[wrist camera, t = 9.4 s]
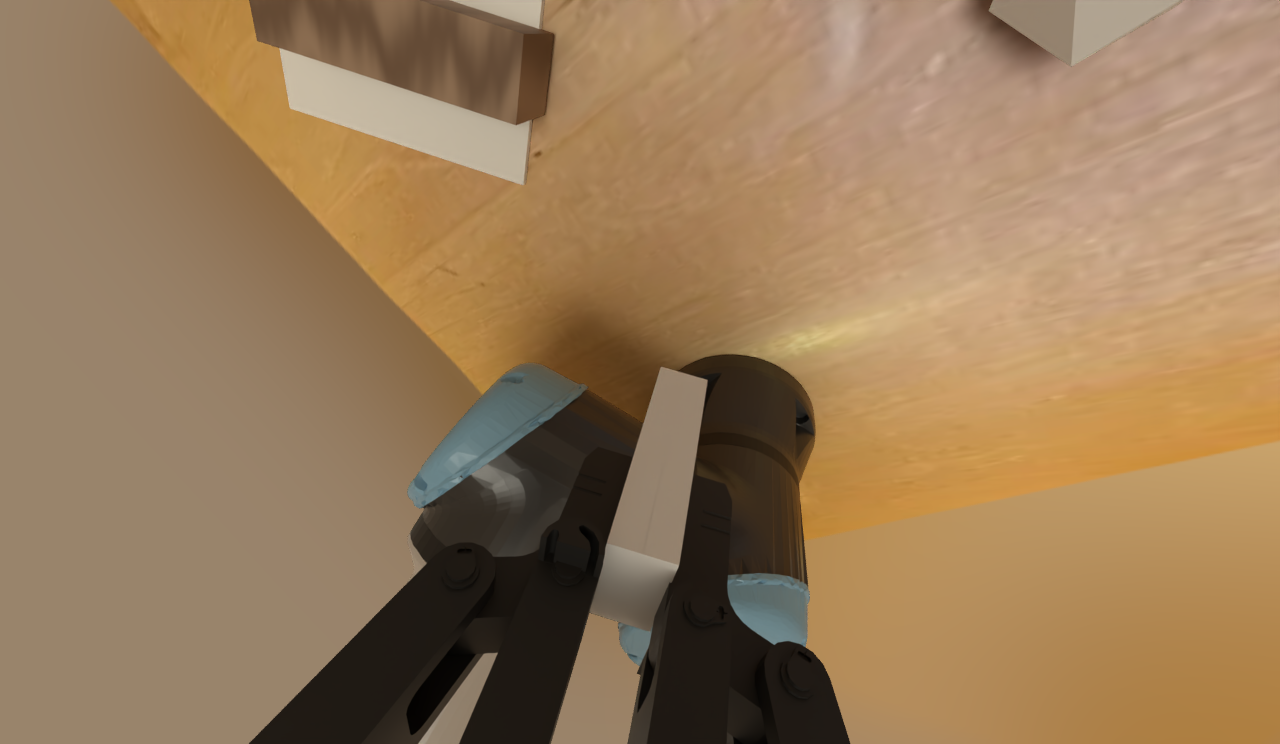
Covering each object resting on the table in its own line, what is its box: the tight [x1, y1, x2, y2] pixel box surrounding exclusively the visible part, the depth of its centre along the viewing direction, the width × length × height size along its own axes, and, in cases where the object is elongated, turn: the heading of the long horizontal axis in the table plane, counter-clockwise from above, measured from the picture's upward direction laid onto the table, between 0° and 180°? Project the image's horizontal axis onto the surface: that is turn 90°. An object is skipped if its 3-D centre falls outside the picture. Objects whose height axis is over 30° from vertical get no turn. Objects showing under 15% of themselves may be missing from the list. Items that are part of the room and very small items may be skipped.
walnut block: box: [249, 0, 554, 125], centre depth 32 cm, size 5×5×18 cm
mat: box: [280, 0, 545, 185], centre depth 34 cm, size 16×20×1 cm
